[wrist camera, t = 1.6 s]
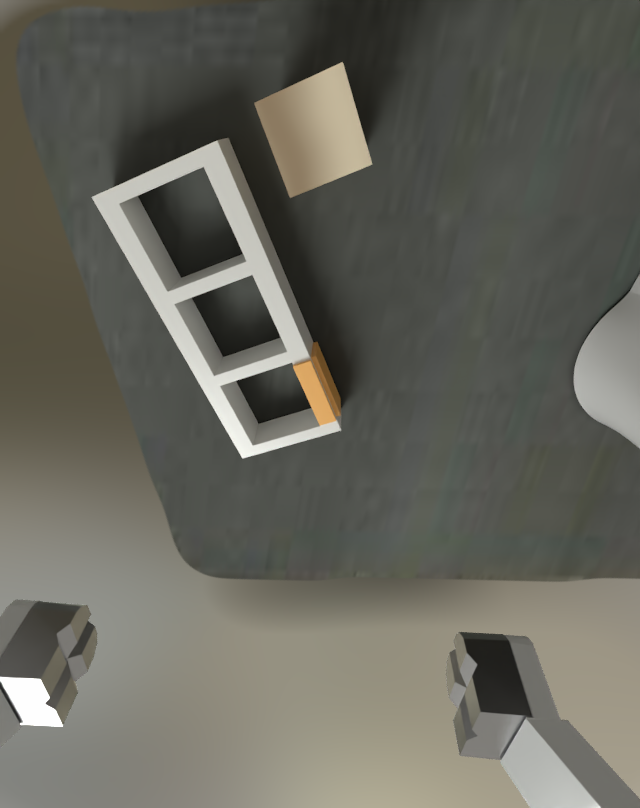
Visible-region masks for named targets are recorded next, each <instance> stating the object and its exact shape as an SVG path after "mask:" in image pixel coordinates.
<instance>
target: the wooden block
mask: <svg viewBox="0 0 640 808" xmlns="http://www.w3.org/2000/svg"><path fill="white" fill-rule="evenodd" d="M254 104H255V107H256V109H257V112H258V115H259V117H260V120H261V123H262V125H263V128H264V131H265V133H266V136H267V138H268V141H269V144H270V146H271V149H272V152H273V154H274V157H275V160H276V162H277V165H278V167H279V170H280V173H281V175H282V178H283V181H284V183H285V186H286V189H287V191H288V194H289V196H290V198H291V197H294V196H296V195H299V194H301V193H304V192H306V191H308V190H311V189H313V188H316V187H318V186H321V185H323V184H326V183H328V182H331V181H333V180H335V179H338V178H340V177H343V176H345V175H348V174H350V173H353V172H355V171H357V170H360V169H362V168H365V167H367V166H370V165H372V162H371V158H370V155H369V151H368V148H367V144H366V141H365V137H364V134H363V130H362V127H361V123H360V120H359V116H358V113H357V110H356V106H355V103H354V99H353V96H352V92H351V89H350V85H349V82H348V78H347V75H346V71H345V68H344V64H343V62H341V63H339V64H337V65H335V66H333V67H331V68H328V69H326V70H324V71H322V72H320V73H318V74H316V75H313V76H311V77H309V78H307V79H305V80H303V81H300V82H298V83H296V84H294V85H292V86H290V87H288V88H285V89H283V90H281V91H279V92H277V93H275V94H272V95H270V96H268V97H266V98H264V99H262V100H259V101H257V102H255V103H254Z"/></svg>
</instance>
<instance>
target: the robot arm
mask: <svg viewBox="0 0 640 808" xmlns="http://www.w3.org/2000/svg"><path fill="white" fill-rule="evenodd" d="M574 388H575V392H576V396H577V398H578V401H579V403H580V404H581V406H582V407H583V409H584V410H585V411H586V412H587V413H588V414H589V415H590V416H591V417H592V418H594V419H595V420H597V421H598V422H600V423H602V424H604V425H606V426H608V427H610V428H612V429H614V430H615V431H617V432H619V433H620V434H622V435H623V436H624V437H626V438H627V439H628V440H630V441H631V442H632V443H633V444H635V445H636V446H637V447H638V448H640V274H639V276H638V278H637V280H636V281H635V283H634V285H633V286H632V288H631V290H630V292H629V293H628V294H627V295H626V296H625V297H624V298H623V299H622V300H621V301H620V302H619V303H618V304H617V305H616V306H615V307H613V308H612V309H611V310H610V311H609V312H608V313H607V314H606V315H605V316H604V317H603V318H602V319H601V320H600V321H599V322H598V323H597V325H596V326H595V327H594V328H593V330H592V331H591V332H590V334H589V335H588V337H587V338H586V340H585V342H584V344H583V346H582V347H581V350H580V352H579V355H578V357H577V361H576V364H575V369H574ZM90 615H91V613H90V610H89V608H88V606H87V605H79V604H66V603H53V602H42V601H30V600H15V601H13V602H12V603H11V604H10V605H9V606H8V607H7V608H6V609H5V611H4V612H3V613H2V615H1V616H0V748H1V747H2V746H3V745H4V744H5V743H6V742H7V741H8V740H9V739H10V738H11V737H12V736H13V735H14V734H15V733H16V732H17V731H18V730H19V729H20V728H21V724H24V725H26V724H27V725H47V726H63V724H64V722H65V720H66V718H67V716H68V713H69V711H70V709H71V707H72V705H73V702H74V700H75V698H76V696H77V694H78V690H77V685H76V681H77V680H78V679H79V678H80V677H81V676H82V675H84V674H85V673H86V672H87V671H88V669H89V667H90V665H91V662H92V660H93V658H94V654H95V650H96V646H97V631H96V628H95V626H94V625H93V624H91V623H90V622H89V621H88V619H89V617H90ZM454 645H455V650H453V651H451V652H450V653H449V656H448V659H447V666H446V681H447V689H448V695H449V698H450V700H451V701H452V702H453V703H454V705H455V706H456V707H457V712H456V714H455V717H454V719H453V723H454V728H455V733H456V739H457V744H458V749H459V755H460V756H467V757H477V758H487V759H496V760H501V761H500V763H501V765H502V766H503V767H504V769H505V770H506V772H507V773H508V775H509V776H510V778H511V780H512V781H513V783H514V784H515V786H516V787H517V789H518V790H519V792H520V793H521V795H522V796H523V798H524V799H525V800H526V802H527V804H528V805H529V807H530V808H640V799H639V798H638V796H637V795H636V794H635V793H634V792H633V791H632V790H631V789H630V788H629V787H628V786H627V785H626V784H625V782H624V781H623V780H622V779H621V778H620V777H619V776H618V775H617V774H616V773H615V771H613V769H612V768H611V767H610V766H609V765H608V764H607V763H606V762H605V761H604V759H603V758H602V757H601V756H600V755H599V754H598V753H597V752H596V751H595V750H594V749H593V747H592V746H591V745H590V744H589V743H588V742H587V741H586V740H585V739H584V738H583V737H582V735H581V734H580V733H579V732H578V731H577V730H576V729H575V728H574V727H573V726H572V725H571V724H570V722H569V721H568V720H560V717H559V714H558V711H557V709H556V706H555V703H554V700H553V698H552V695H551V692H550V689H549V686H548V684H547V681H546V679H545V675H544V673H543V670H542V667H541V664H540V662H539V659H538V656H537V654H536V651H535V648H534V646H533V643H532V642H531V640H530V639H529V638H528V637H525V636H511V635H503V634H486V633H485V634H484V633H467V632H459V633H458V634H456V636H455V639H454Z"/></svg>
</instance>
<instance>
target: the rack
mask: <svg viewBox="0 0 640 808" xmlns="http://www.w3.org/2000/svg"><path fill="white" fill-rule="evenodd" d="M202 167H204V168H205V171H206V173H207V175H208V177H209V179H210V182H211V184H212V186H213V188H214V191H215V193H216V195H217V197H218V199H219V202H220V204H221V206H222V208H223V210H224V213H225V215H226V217H227V219H228V222H229V224H230V226H231V228H232V230H233V233H234V235H235V237H236V239H237V241H238V244H239V246H240V248H241V250H242V253H243V254H241V255H239V256H236V257H233V258H231V259H228V260H226V261H223V262H221V263H218V264H216V265H213V266H210V267H208V268H205V269H203V270H200V271H198V272H195V273H192V274H190V275H187V276H185V277H182V278H181V277H180V275H179V273H178V271H177V269H176V267H175V265H174V263H173V261H172V260H171V258H170V256H169V254H168V252H167V250H166V248H165V246H164V245H163V243H162V241H161V239H160V237H159V235H158V233H157V231H156V229H155V228H154V226H153V224H152V222H151V220H150V218H149V216H148V214H147V212H146V211H145V209H144V207H143V205H142V203H141V201H140V199H139V197H138V196H139V195H141V194H143V193H146V192H148V191H150V190H152V189H155V188H157V187H159V186H161V185H164V184H166V183H168V182H170V181H173V180H175V179H177V178H179V177H182V176H184V175H186V174H189V173H191V172H193V171H195V170H198V169H200V168H202ZM92 199H93V200H94V202H95V204H96V206H97V207H98V209H99V211H100V212H101V214H102V216H103V218H104V219H105V221H106V223H107V225H108V226H109V228H110V230H111V231H112V233H113V235H114V237H115V238H116V240H117V242H118V244H119V245H120V247H121V249H122V251H123V252H124V254H125V256H126V257H127V259H128V261H129V263H130V264H131V266H132V268H133V270H134V271H135V273H136V275H137V277H138V278H139V280H140V282H141V283H142V285H143V287H144V289H145V290H146V292H147V294H148V296H149V297H150V299H151V301H152V302H153V304H154V306H155V308H156V309H157V311H158V313H159V315H160V316H161V318H162V320H163V322H164V323H165V325H166V327H167V328H168V330H169V332H170V334H171V335H172V337H173V339H174V341H175V342H176V344H177V346H178V348H179V349H180V351H181V353H182V354H183V356H184V358H185V360H186V361H187V363H188V365H189V367H190V368H191V370H192V372H193V373H194V375H195V377H196V379H197V380H198V382H199V384H200V386H201V387H202V389H203V391H204V393H205V394H206V396H207V398H208V399H209V401H210V403H211V405H212V406H213V408H214V410H215V412H216V413H217V415H218V417H219V419H220V420H221V422H222V424H223V425H224V427H225V429H226V431H227V432H228V434H229V436H230V438H231V439H232V441H233V443H234V444H235V446H236V448H237V450H238V451H239V453H240V455H241V457H242V458H246V457H250V456H253V455H257V454H260V453H264V452H267V451H271V450H274V449H278V448H281V447H285V446H288V445H292V444H295V443H299V442H302V441H306V440H309V439H313V438H316V437H320V436H323V435H327V434H330V433H334V432H337V431H341V398H340V396H339V393H338V391H337V388H336V386H335V383H334V381H333V379H332V376H331V374H330V371H329V369H328V366H327V364H326V362H325V359H324V357H323V354H322V352H321V349H320V347H319V345H318V342H313V340H312V338H311V335H310V333H309V330H308V328H307V326H306V323H305V321H304V318H303V316H302V314H301V311H300V309H299V306H298V304H297V301H296V299H295V297H294V294H293V292H292V289H291V287H290V285H289V282H288V280H287V277H286V275H285V273H284V270H283V268H282V265H281V263H280V261H279V258H278V256H277V253H276V251H275V249H274V246H273V244H272V241H271V239H270V237H269V234H268V232H267V229H266V227H265V225H264V222H263V220H262V217H261V215H260V213H259V210H258V208H257V205H256V203H255V201H254V198H253V196H252V193H251V191H250V189H249V186H248V184H247V181H246V179H245V177H244V174H243V172H242V169H241V167H240V164H239V162H238V160H237V157H236V155H235V152H234V150H233V148H232V145H231V143H230V140H229V138H225V139H221V140H217V141H215V142H212V143H210V144H208V145H206V146H204V147H201V148H199V149H197V150H195V151H193V152H190V153H188V154H186V155H184V156H182V157H179V158H177V159H175V160H173V161H171V162H168V163H166V164H164V165H162V166H160V167H157V168H155V169H153V170H151V171H149V172H146V173H144V174H142V175H140V176H137V177H135V178H133V179H131V180H129V181H126V182H124V183H122V184H120V185H118V186H115V187H113V188H111V189H109V190H107V191H104V192H102V193H100V194H98V195H96V196H93V197H92ZM250 275H253V277H254V279H255V281H256V284H257V286H258V288H259V290H260V292H261V295H262V297H263V299H264V301H265V303H266V306H267V308H268V310H269V312H270V315H271V317H272V319H273V321H274V323H275V326H276V328H277V330H278V332H279V334H280V337H281V338H278V339H275V340H272V341H269V342H266V343H263V344H260V345H257V346H255V347H252V348H249V349H246V350H243V351H240V352H237V353H234V354H231V355H228V356H225V357H223V356H222V354H221V352H220V350H219V348H218V346H217V344H216V342H215V341H214V339H213V337H212V335H211V333H210V331H209V329H208V327H207V326H206V324H205V322H204V320H203V318H202V316H201V314H200V312H199V310H198V309H197V307H196V305H195V303H194V301H193V299H192V297H195V296H197V295H200V294H203V293H205V292H208V291H211V290H213V289H216V288H219V287H221V286H224V285H227V284H229V283H232V282H234V281H237V280H240V279H242V278H245V277H248V276H250ZM289 363H293V368H294V370H295V372H296V375H297V377H298V379H299V381H300V383H301V386H302V388H303V390H304V392H305V394H306V397H307V399H308V401H309V403H310V405H311V408H310V409H306V410H303V411H300V412H296V413H293V414H290V415H286V416H283V417H280V418H276V419H273V420H270V421H266V422H263V423H260V424H258V422H257V420H256V418H255V416H254V414H253V412H252V410H251V408H250V407H249V405H248V403H247V401H246V399H245V397H244V395H243V393H242V391H241V390H240V388H239V386H238V384H237V382H236V381H237V380H240V379H243V378H246V377H249V376H252V375H255V374H258V373H261V372H264V371H267V370H271V369H274V368H277V367H280V366H283V365H286V364H289Z"/></svg>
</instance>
